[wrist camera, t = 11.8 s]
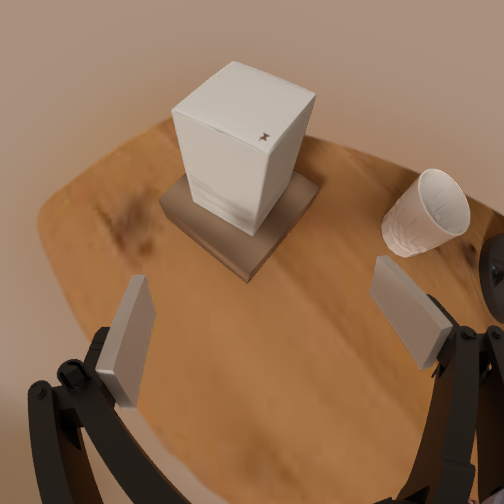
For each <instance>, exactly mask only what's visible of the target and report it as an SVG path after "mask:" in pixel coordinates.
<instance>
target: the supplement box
mask: <svg viewBox="0 0 504 504" xmlns="http://www.w3.org/2000/svg"><path fill="white" fill-rule="evenodd" d="M315 98H316V93H314V92H312V91H310V90H307V89H305V88H303V87H300V86H298V85H296V84H293V83H291V82H289V81H286V80H284V79H281V78H279V77H276V76H274V75H271V74H269V73H266V72H264V71H261V70H258V69H256V68H253V67H250V66H247V65H244V64H242V63H238V62H236V61H232V62H231V63H230V64H228V65H227V66H225V67H224V68H223V69H221V70H220V71H219V72H217V73H216V74H215V75H213V76H212V77H211V78H209V79H208V80H207V81H206V82H204V83H203V84H202V85H201V86H200V87H198V88H197V89H196V90H195V91H193V92H192V93H191V94H190V95H188V96H187V97H186V98H185V99H183V100H182V101H181V102H180V103H179V104H177V105H176V106H175V107H174V108H173V109H172V110H171V112H172V116H173V120H174V125H175V129H176V133H177V137H178V142H179V146H180V150H181V154H182V158H183V163H184V167H185V171H186V175H187V179H188V182H189V186H190V190H191V194H192V198H193V201H194V202H195V203H197V204H199V205H200V206H202V207H203V208H205V209H207V210H208V211H210V212H212V213H214V214H215V215H217V216H219V217H220V218H222V219H224V220H225V221H227V222H229V223H231V224H232V225H234V226H236V227H237V228H239V229H241V230H242V231H244V232H246V233H247V234H249V235H251V236H254V234H255V233H256V231H257V230H258V228H259V227H260V226H261V224H262V223H263V221H264V220H265V218H266V217H267V215H268V214H269V212H270V211H271V209H272V208H273V206H274V205H275V204H276V202H277V201H278V199H279V198H280V196H281V195H282V193H283V192H284V191H285V189H286V188H287V186H288V184H289V181H290V178H291V175H292V172H293V168H294V165H295V162H296V159H297V156H298V153H299V149H300V146H301V143H302V140H303V137H304V134H305V131H306V128H307V124H308V121H309V118H310V115H311V111H312V108H313V104H314V101H315Z"/></svg>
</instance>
